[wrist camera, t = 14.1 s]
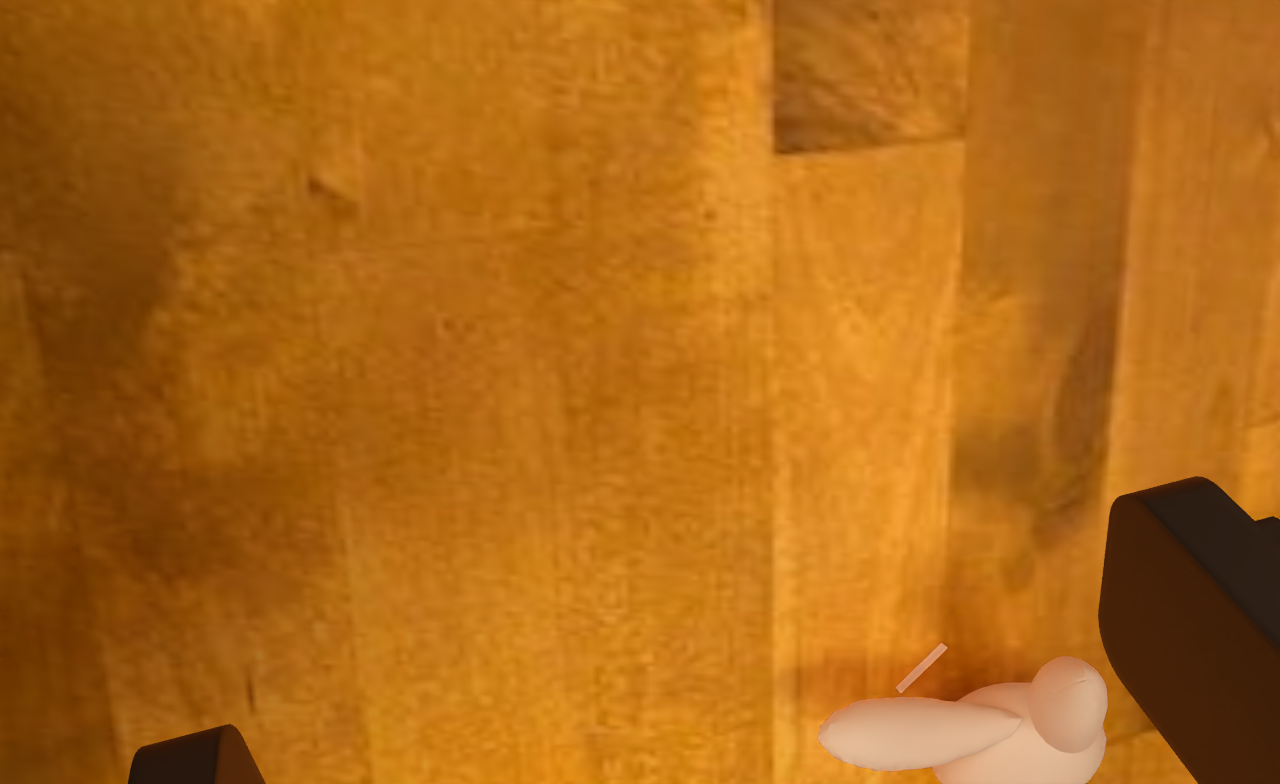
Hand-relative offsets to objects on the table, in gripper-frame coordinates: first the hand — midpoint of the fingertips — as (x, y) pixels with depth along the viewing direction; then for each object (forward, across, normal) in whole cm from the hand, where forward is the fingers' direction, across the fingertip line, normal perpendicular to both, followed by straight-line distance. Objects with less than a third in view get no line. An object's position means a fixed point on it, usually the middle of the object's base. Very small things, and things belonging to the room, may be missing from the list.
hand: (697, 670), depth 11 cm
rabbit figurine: (+11, -7, +14) cm, 19 cm away
